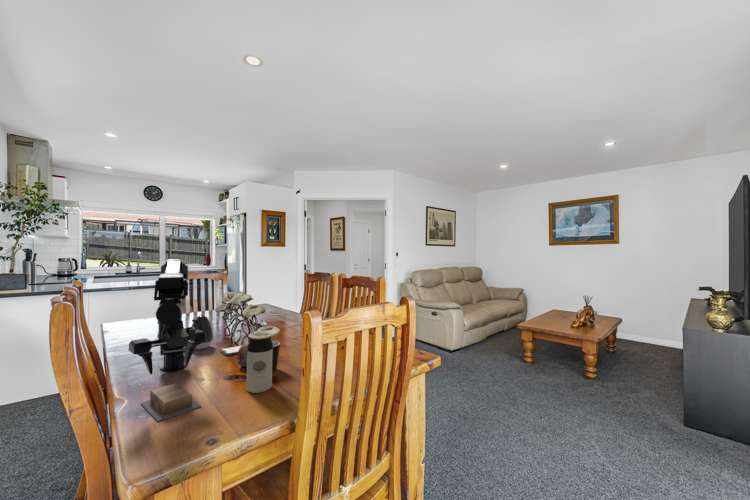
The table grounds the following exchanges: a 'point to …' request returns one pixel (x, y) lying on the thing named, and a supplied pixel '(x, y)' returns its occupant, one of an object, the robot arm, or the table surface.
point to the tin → (242, 355)
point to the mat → (159, 416)
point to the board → (170, 398)
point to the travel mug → (259, 362)
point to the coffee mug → (275, 355)
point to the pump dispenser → (205, 326)
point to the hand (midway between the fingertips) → (169, 369)
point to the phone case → (230, 351)
